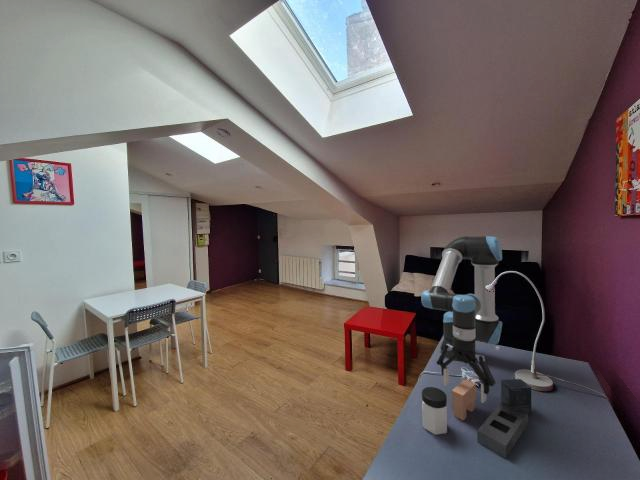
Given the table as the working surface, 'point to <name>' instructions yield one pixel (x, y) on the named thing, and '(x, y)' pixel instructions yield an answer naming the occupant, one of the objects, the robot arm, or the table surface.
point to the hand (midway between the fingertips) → (463, 392)
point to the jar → (434, 410)
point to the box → (516, 394)
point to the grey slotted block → (502, 429)
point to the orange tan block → (463, 398)
